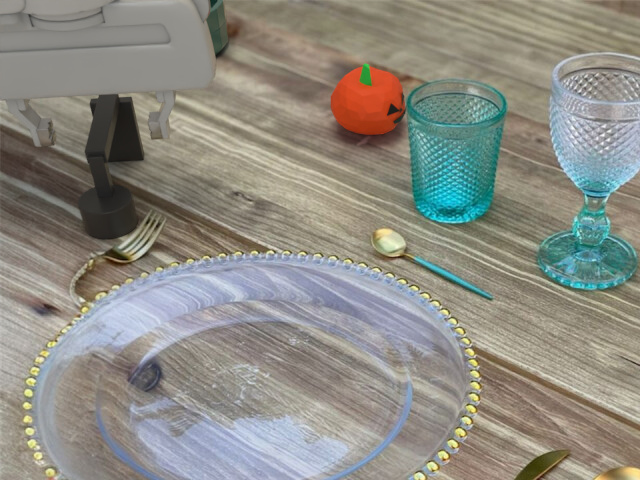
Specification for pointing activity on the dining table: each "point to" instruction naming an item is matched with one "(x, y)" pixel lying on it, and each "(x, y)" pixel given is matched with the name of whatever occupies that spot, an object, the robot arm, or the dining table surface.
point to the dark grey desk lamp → (104, 146)
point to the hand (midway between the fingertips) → (104, 139)
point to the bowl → (218, 25)
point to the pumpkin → (368, 101)
